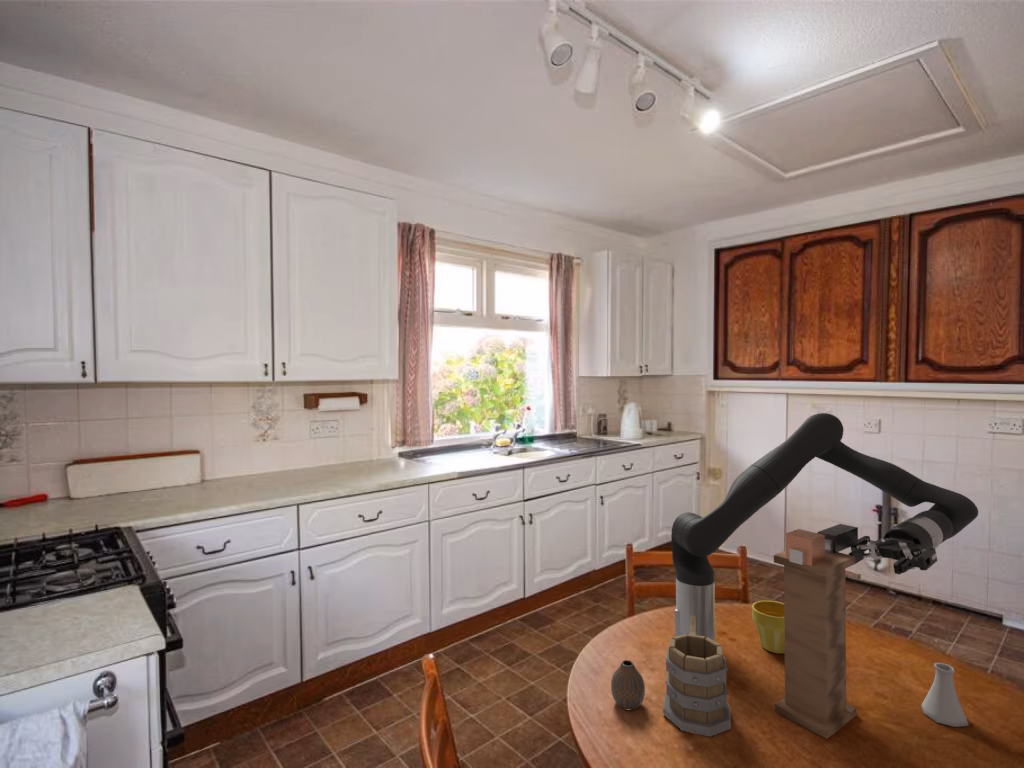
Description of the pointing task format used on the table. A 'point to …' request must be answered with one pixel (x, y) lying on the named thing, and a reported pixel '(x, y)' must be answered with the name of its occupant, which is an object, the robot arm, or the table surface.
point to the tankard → (696, 684)
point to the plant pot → (770, 625)
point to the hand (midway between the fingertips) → (873, 564)
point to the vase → (627, 686)
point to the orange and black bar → (819, 543)
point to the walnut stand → (815, 644)
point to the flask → (944, 699)
